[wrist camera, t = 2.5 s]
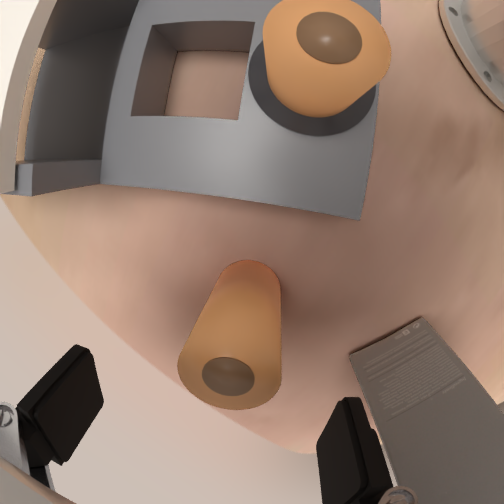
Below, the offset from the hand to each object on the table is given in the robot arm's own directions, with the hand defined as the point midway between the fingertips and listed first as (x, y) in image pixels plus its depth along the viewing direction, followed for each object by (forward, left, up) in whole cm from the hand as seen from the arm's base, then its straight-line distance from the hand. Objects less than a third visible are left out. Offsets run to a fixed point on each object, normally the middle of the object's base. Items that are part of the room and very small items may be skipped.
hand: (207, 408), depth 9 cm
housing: (+7, -13, -9) cm, 17 cm away
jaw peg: (-1, -1, -9) cm, 9 cm away
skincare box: (-14, +4, -10) cm, 17 cm away
